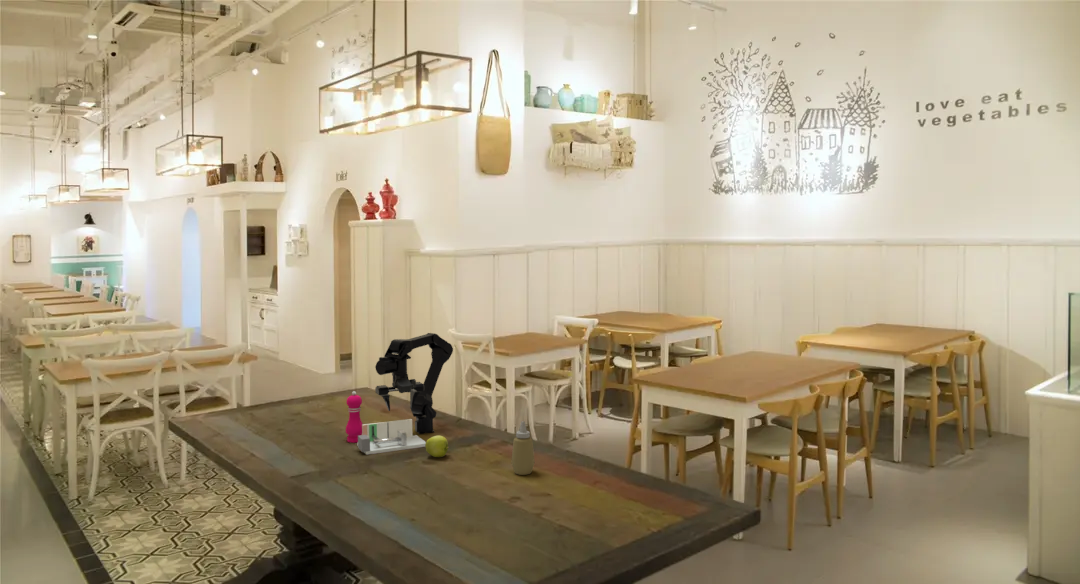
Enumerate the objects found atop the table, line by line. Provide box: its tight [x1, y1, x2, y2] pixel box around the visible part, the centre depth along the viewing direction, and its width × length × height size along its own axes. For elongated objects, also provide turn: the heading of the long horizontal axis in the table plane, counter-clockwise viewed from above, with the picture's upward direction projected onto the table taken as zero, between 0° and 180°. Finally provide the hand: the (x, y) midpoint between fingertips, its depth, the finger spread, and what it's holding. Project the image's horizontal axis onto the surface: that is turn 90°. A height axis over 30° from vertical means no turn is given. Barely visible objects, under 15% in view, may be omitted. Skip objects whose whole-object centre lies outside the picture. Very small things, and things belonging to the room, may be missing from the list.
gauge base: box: [356, 418, 426, 456], centre depth 300 cm, size 26×13×8 cm, turn 117°
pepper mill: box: [345, 390, 364, 444], centre depth 308 cm, size 7×7×20 cm
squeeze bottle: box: [511, 421, 536, 476], centre depth 267 cm, size 8×8×18 cm
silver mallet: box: [372, 426, 407, 446], centre depth 299 cm, size 12×11×6 cm
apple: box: [424, 435, 450, 458], centre depth 286 cm, size 8×9×8 cm
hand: (400, 409), depth 310 cm, fingers open, 9 cm apart
